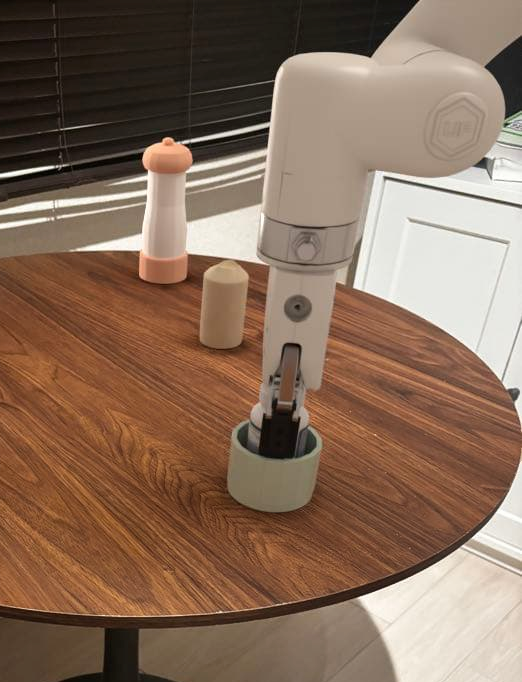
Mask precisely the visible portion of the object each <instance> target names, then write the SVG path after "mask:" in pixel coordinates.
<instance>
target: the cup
mask: <svg viewBox="0 0 522 682" xmlns="http://www.w3.org/2000/svg"><path fill="white" fill-rule="evenodd" d="M249 422H250V418H249V419H247V420H243V421H241V422H240V423H238V424H237V425H236V426H235V427H234V428H233V429H232V433H231V436H230V437H231V438H230V447H229V458H228V466H227V467H228V468H227V475H226V488H227V492H228V493H229V495H230V496H231V497H232V498H233V499H234V500H235V501H236V502H238V503H239V504H241V505H243V506H245V507H247V508H249V509H253V510H256V511H260V512H266V513H287V512H291V511H295V510H298V509H301V508H302V507H305V506H306V505H307V504H308V503H309V502H310V501H311V500H312V498H313V495H314V491H315V487H316V484H317V483H316V482H317V477H318V471H319V466H320V462H321V461H320V460H321V455H322V450H323V438H322V436H321V435H320V434H319V433H318V432H317V430H316V429H314V428H313V427H311V426H310V425H308V430H307V437H306V443H305V450H304V456H302V457H300V458H295V459H285V460H281V459H272V458H265V457H262V456H259V455H256V454H253V453H251V452H250V451H248V450H247V441H248V431H249Z"/></svg>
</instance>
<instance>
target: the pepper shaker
mask: <svg viewBox="0 0 522 682" xmlns="http://www.w3.org/2000/svg"><path fill="white" fill-rule="evenodd" d="M190 150H191V149H189V148H188V147H187V146H185V145H184V144H181V143H178V142H175V140H174V139H173V138H172V137H168V136H167V137H165V138H163V139H162V142H157V143H153V144H152V145H150V146H148V147H146V149H145V151H144V152H143V155H142V165H143V167H144V169H145V170H147V189H146V190H147V192H146V205H145V211H144V216H143V221H142V222H143V223H142V229H141V230H142V238H141V239H142V240H141V241H142V245H141V247H142V248H141V249H140V251H139V265H138V266H139V268H138V270H139V271H138V272H139V273H138V277H139V278H140V279H141V280H144V281H145V282H148V283H153V284H161V285H162V284H163V285H165V284H166V285H169V284H176V283H180V282H182V281H184V280H185V279H186V278H187V275H188V261H189V258H188V257H189V254H188V253H189V252H188V250H187V249H186V248H187V236H188V223H187V212H186V185H187V171H189V170H190V169H191V167H192V164H193V162H194V161H193V154H192V152H191V151H190Z"/></svg>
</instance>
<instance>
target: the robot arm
mask: <svg viewBox="0 0 522 682" xmlns="http://www.w3.org/2000/svg"><path fill="white" fill-rule="evenodd" d="M520 37H522V0H419V1H417V3H415V5H414V6H413V7H412V8H411V9H410V10H409V12H408V13H407V14H406V15H405V17H403V19H402V20H401V21H400V22H399V23H398V24H397V25H396V27H394V29H393V30H392V31H391V32H390V33H389V35H388V36H387V37H386V38H385V39H384V40H383V41H382V42H381V44H380V45H379V46H378V48H377V49H376V50H375V52H374V53H373V54H372V55H371V57H369V56H365V55H360V54H355V53H349V52H335V51H333V52H331V51H330V52H329V51H323V52H319V51H317V52H316V51H315V52H307V53H298V54H296V55H293V56H291V57H288V58H287V59H286V60H285V61H283V63H281V65H280V67H279V68H278V70H277V72H276V74H275V75H276V76H275V80H274V86H273V94H272V102H271V103H272V104H271V113H270V121H269V131H268V140H267V151H266V158H265V159H266V160H265V168H264V169H265V170H264V178H263V186H262V194H261V204H260V205H261V206H260V212H259V213H260V214H259V224H258V232H257V243H256V251H255V254H256V257H257V258H258V259H259V260H260V261H261V262H263V263H264V264H266V265H269V272H268V279H267V289H266V298H265V299H266V300H265V308H264V310H265V311H264V323H263V338H262V339H263V340H262V380H261V381H262V383H264V384H265V385H266V386H267V387H269V395H268V402H267V410H266V413H263V418H262V426H261V434H260V442H259V449H258V453H259V454H260V455H261V456H269V457H279V458H288V459H291V458H293V457H294V456H295V451H296V444H297V438H298V432H299V426H300V420H301V417H300V416H299V410H300V403H301V396H302V390H303V385H304V386H305V388H306V390H312V392H315V393H316V392H317V391H319V390H320V389H321V388H322V380H323V373H324V367H325V359H326V353H327V346H328V341H329V333H330V328H331V322H332V315H333V310H334V309H333V308H334V302H335V296H336V286H337V276H338V270H341V269H344V268H347V267H348V266H349V265H351V264H352V262H353V257H354V252H355V247H356V246H355V245H356V240H357V237H358V230H359V226H360V225H359V224H360V219H361V218H360V217H361V213H362V207H363V201H364V196H365V192H366V191H365V190H366V187H367V186H366V185H367V180H368V175H369V171H376V172H377V171H378V172H384V173H385V172H386V173H391V174H397V175H398V174H399V175H405V176H409V177H415V178H425V179H439V178H448V177H451V176H454V175H457V174H460V173H462V172H464V171H467V170H469V169H470V168H471V167H473V166H475V165H477V164H478V163H479V162H480V161H482V160H483V158H485V156H487V155H488V153H490V151H491V150H492V148H493V147H494V145H495V144H496V142H497V141H498V139H499V137H500V135H501V133H502V129H503V126H504V123H505V118H506V103H505V102H506V101H505V96H504V93H503V90H502V88H501V85H500V83H498V81H497V79H496V78H495V76H494V75H493V74H492V73H491V72H490V71H489V70H488V69H486V68H485V67H486V66H487V65H488V64H489V63H490V62H491V61H492V60H493V59H494V58H495V57H496V56H497V55H499V54H500V53H501V52H502V51H503V50H504V49H506V48H507V47H508V46H510V45H511V44H512V43H513V42H515V41H516V40H517V39H518V38H520ZM275 378H280V381H275ZM296 381H298V383H295V382H296ZM275 390H279V393H278V398H275V399H274V396H275ZM294 392H295V398H294ZM293 398H294V400H293Z"/></svg>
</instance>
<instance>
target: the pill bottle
mask: <svg viewBox="0 0 522 682" xmlns="http://www.w3.org/2000/svg"><path fill="white" fill-rule="evenodd" d="M275 381H280V378H275ZM295 383H298V381H296V382H295ZM306 392H307V389H306V388H305V384H303V390H302V396H301V403H300V410H299V416H300V417H301V420H300V426H299V432H298V438H297V444H296V451H295V456H294V457H293V458H291V459H295V458H300V457H302V456H304V450H305V443H306V437H307V430H308V426H309V422H310V414H309V412H308V410H307V409H306V407H304V405H305V400H306V395H307V393H306ZM278 393H279V390H275V396H274V399H275V398H278ZM268 395H269V387H267V386H266V385H265V384H264V383H263V382H262V383H261V384H260V387H259V394H258V401H259V402H257V403H256V404H254V406H253V407H252V409H251V411H250V416H249V419H250V422H249V431H248V441H247V450H248V451H250V452H251V453H253V454H256V455H259V456H261V455H260V454H259V453H258V449H259V442H260V434H261V426H262V418H263V413H266V410H267V402H268ZM294 398H295V392H294ZM294 398H293V400H294ZM262 457H265V458H272V459H281V460H285V459H288V458H279V457H269V456H262Z"/></svg>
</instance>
